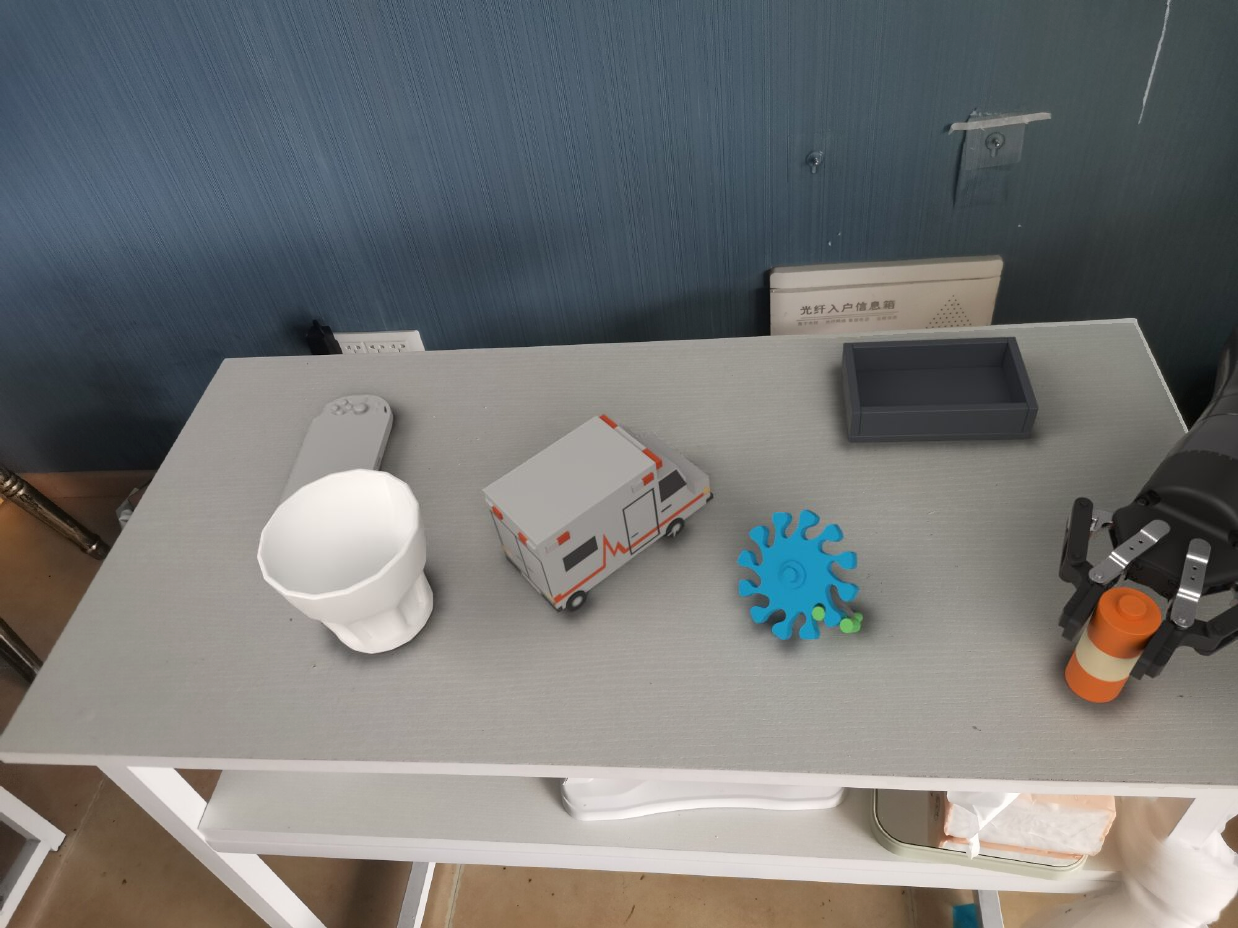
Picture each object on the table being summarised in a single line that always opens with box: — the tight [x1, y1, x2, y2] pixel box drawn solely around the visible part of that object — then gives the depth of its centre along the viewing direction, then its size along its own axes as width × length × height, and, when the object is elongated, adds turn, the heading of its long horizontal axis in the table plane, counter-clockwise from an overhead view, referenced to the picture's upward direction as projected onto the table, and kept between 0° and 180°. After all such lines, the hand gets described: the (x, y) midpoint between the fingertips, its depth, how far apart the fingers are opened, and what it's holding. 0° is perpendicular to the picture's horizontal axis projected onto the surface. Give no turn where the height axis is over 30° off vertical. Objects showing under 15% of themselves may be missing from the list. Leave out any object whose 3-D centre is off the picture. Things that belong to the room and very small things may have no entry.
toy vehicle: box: [481, 413, 714, 613], centre depth 73 cm, size 10×17×10 cm, turn 129°
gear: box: [737, 509, 864, 641], centre depth 69 cm, size 11×6×10 cm
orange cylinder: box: [1064, 586, 1163, 704], centre depth 59 cm, size 4×4×10 cm
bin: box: [840, 336, 1040, 443], centre depth 82 cm, size 16×10×4 cm, turn 85°
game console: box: [276, 394, 394, 509], centre depth 86 cm, size 18×2×8 cm
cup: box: [256, 469, 434, 655], centre depth 71 cm, size 12×12×11 cm
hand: (1104, 650), depth 56 cm, fingers open, 3 cm apart
